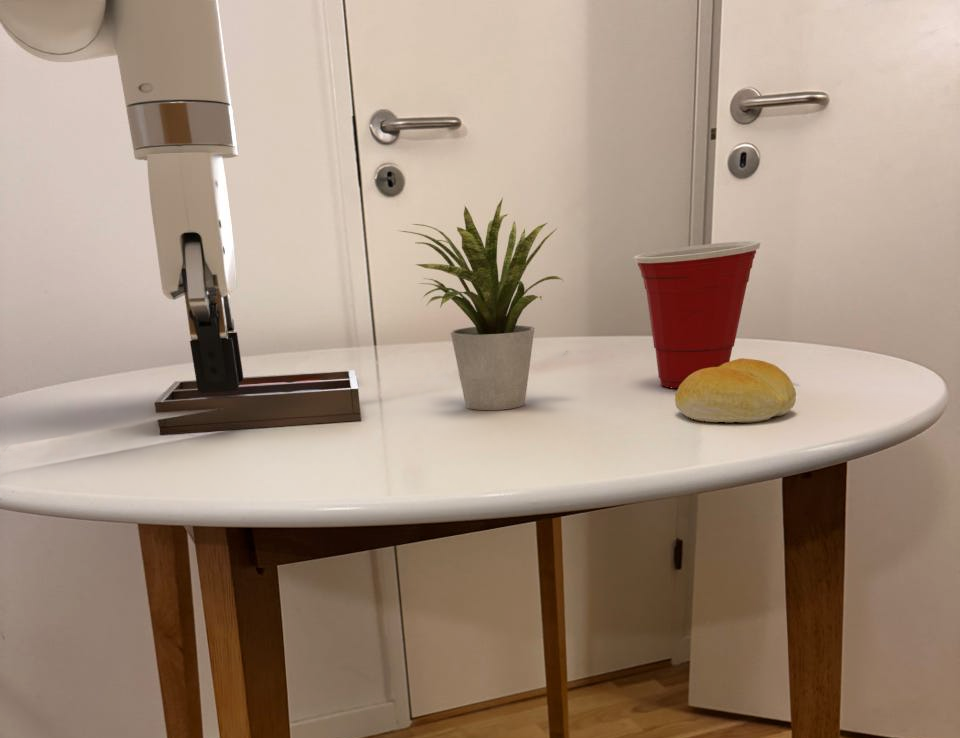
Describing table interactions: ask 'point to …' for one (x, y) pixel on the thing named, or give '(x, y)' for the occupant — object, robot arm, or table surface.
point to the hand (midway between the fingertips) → (221, 384)
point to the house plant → (490, 314)
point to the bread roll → (736, 392)
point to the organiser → (262, 403)
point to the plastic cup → (695, 304)
